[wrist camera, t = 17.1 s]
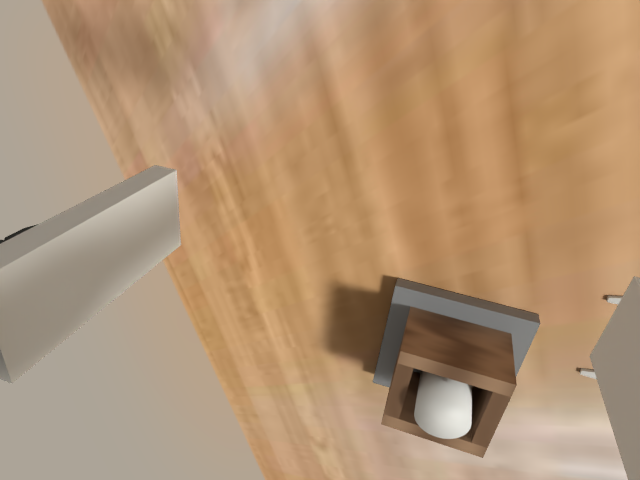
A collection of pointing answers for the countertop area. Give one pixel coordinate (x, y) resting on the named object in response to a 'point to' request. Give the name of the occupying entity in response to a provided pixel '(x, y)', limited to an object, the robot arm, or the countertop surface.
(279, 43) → the countertop surface
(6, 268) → the robot arm
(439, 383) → the square plate with peg
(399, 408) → the collar
